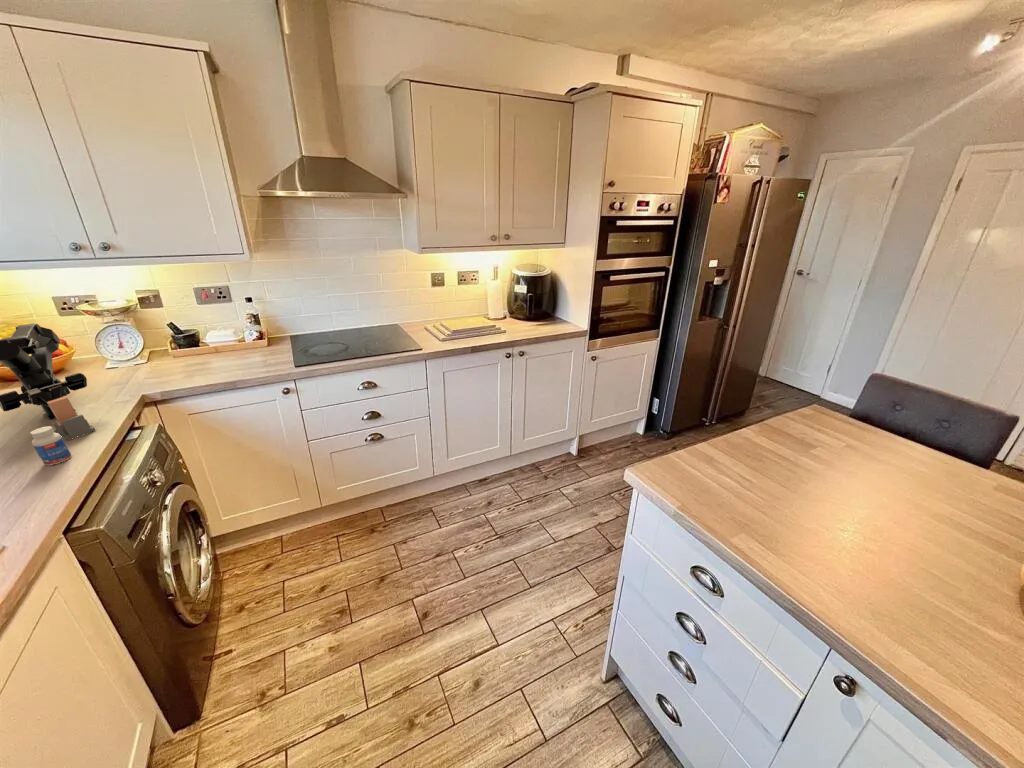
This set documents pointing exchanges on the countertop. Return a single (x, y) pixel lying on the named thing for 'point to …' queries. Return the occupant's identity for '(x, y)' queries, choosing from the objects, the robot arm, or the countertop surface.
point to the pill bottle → (50, 446)
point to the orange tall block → (62, 409)
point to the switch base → (73, 427)
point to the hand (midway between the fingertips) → (62, 412)
